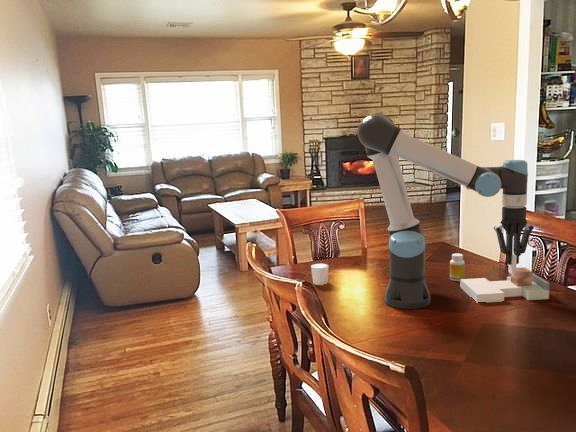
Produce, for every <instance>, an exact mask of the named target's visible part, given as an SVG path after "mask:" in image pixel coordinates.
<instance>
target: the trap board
mask: <svg viewBox="0 0 576 432" xmlns="http://www.w3.org/2000/svg"><path fill="white" fill-rule="evenodd" d="M459 283H460V284H459V288H460V289H461V290H463V292H464V293H465V294H466V295H468V296H469V297H470V298H471V297H472V298H473V299H474V300H475V301H476V302H475V301H474V300H473V299H472V298H471V299H472V300H473V301H474V302H475V303H477V304H479V303H478V302H486V303H498V302H499V303H501V302H502V301H504V302H505V298H508V297H509V298H511V297H512V298H513V297H523V298H524V299H526V300H527V301H534V300H535V301H536V300H538V301H539V300H549V299H550V282H548V281H547V280H545V279H543V278H542V277H540V276H539V275H537V274H536V273H534V272H532V286H516V285H515V284H513V283H512V282H511V275H510V276H506V280H492V281H491V280H488V279H487V278H486V277H481V278H480V277H479V278H478V277H477V278H465V279H460V281H459Z"/></svg>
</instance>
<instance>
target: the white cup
mask: <svg viewBox="0 0 576 432" xmlns="http://www.w3.org/2000/svg"><path fill="white" fill-rule="evenodd" d="M310 269H311V277H312V283H313V285H316V286H323V285H324V284H325V285H327V284H328V281H329V280H328V279H329V264H327V263H314V264H311V265H310Z"/></svg>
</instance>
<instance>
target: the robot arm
mask: <svg viewBox="0 0 576 432" xmlns="http://www.w3.org/2000/svg"><path fill="white" fill-rule="evenodd" d="M357 136H358V140H359V141H360V143H361V144H362V145H363V146H364V149H365V152H366V157H367V158H369V159H371V160H372V161H373V166H374V170H375V173H376V177H377V180H378V183H379V187H380V191H381V195H382V198H383V202H384V205H385V209H386V213H387V216H388V220H389V226H387V231H388V236H389V240H388V249H389V251H388V253H389V280H388V284H387V287H386V290H385V294H384V302H385V304H387V305H389V306H390V307H392V308H397V309H401V310H417V309H422V308H426V307H428V306H429V305H430V304H431V293H430V291H429V289H428V285H427V282H426V246H427V239H426V236H425V234H424V232H423V229H422V226H421V223H420V222H421V221H420V220H419V219H417V218H415V216H414V213H413V210H412V206H411V202H410V199H409V195H408V194H409V193H408V191H407V187H406V184H405V179H404V177H403V176H404V175H403V173H402V168H401V165H400V161H399V158H401V159H403V160H406V161H408V162H410V163H412V164H413V165H416V166H419V167H421V168H423V169H425V170H427V171H430V172H432V173H434V174H435V175H439V176H440V177H443V178H446V179H447V180H450V181H452V182H454V183H457V184H459V185H461V186H463V187H465V188H466V189H467V190H472V191H474V192H476V193H477V194H478V195H480V196H482V197H485V198H486V197H487V198H490V197H494V196H496V195H497V194H498V193H499V192H500V191H501V189H502V201H501V203H502V206H501V207H502V208H501V221H500V224H498V225H497V226H493V230H494V231H495V233H496V236H497V240H498V244H499V245H498V246H499V249H500V250H499V251H500V253H502V254H504V255H506V259H505V261H506V264H507V265H508V270H507V271H508V273H509V274H510V275H511V274H516V268H517V265H519V263H520V262H519V261H520V256H521V255H522V254H525V253H526V250H527V246H528V243H529V241H530V236H531V233H532V231H533V230H534V228H535V227H534V225H531V224H529V223H528V221H527V219H526V218H527V207H526V206H527V201H528V200H527V199H528V177H529V171H528V162H527V161H526V160H523V159H510V160H509V159H507V160H504V161H503V164H502V165H500V166H478V165H477V164H475V163H472V162H470V161H468V160H466V159H463V158H461V157H459V156H457V155H455V154H452V153H450V152H448V151H445V150H443V149H442V148H441V149H440V148H439V147H436V146H434V145H432V144H429V143H427V142H425V141H423V140H420V139H418V138H416V137H414V136H411V135H409V134H407V133H405V132H404V130H403V128H402V127H399V126H397V125H396V124H395V123H394V121H393V120H392V119H391V117H389V116H388V115H386V114H383V113H376V114H370V115H368V116H366V117H364V118H363V119H362V120H361V121H360V123H359V125H358V127H357ZM503 229H504V230H503ZM503 231H505V236H506V238H505V236H504V233H503ZM522 232H523V233H522Z"/></svg>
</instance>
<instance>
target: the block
mask: <svg viewBox="0 0 576 432" xmlns="http://www.w3.org/2000/svg"><path fill="white" fill-rule="evenodd" d="M532 273H533V271H532V270H531V269H529V268H527V267H516V274H511V273H510V276H511V282H512V283H513V284H515V285H516V286H532Z"/></svg>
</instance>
